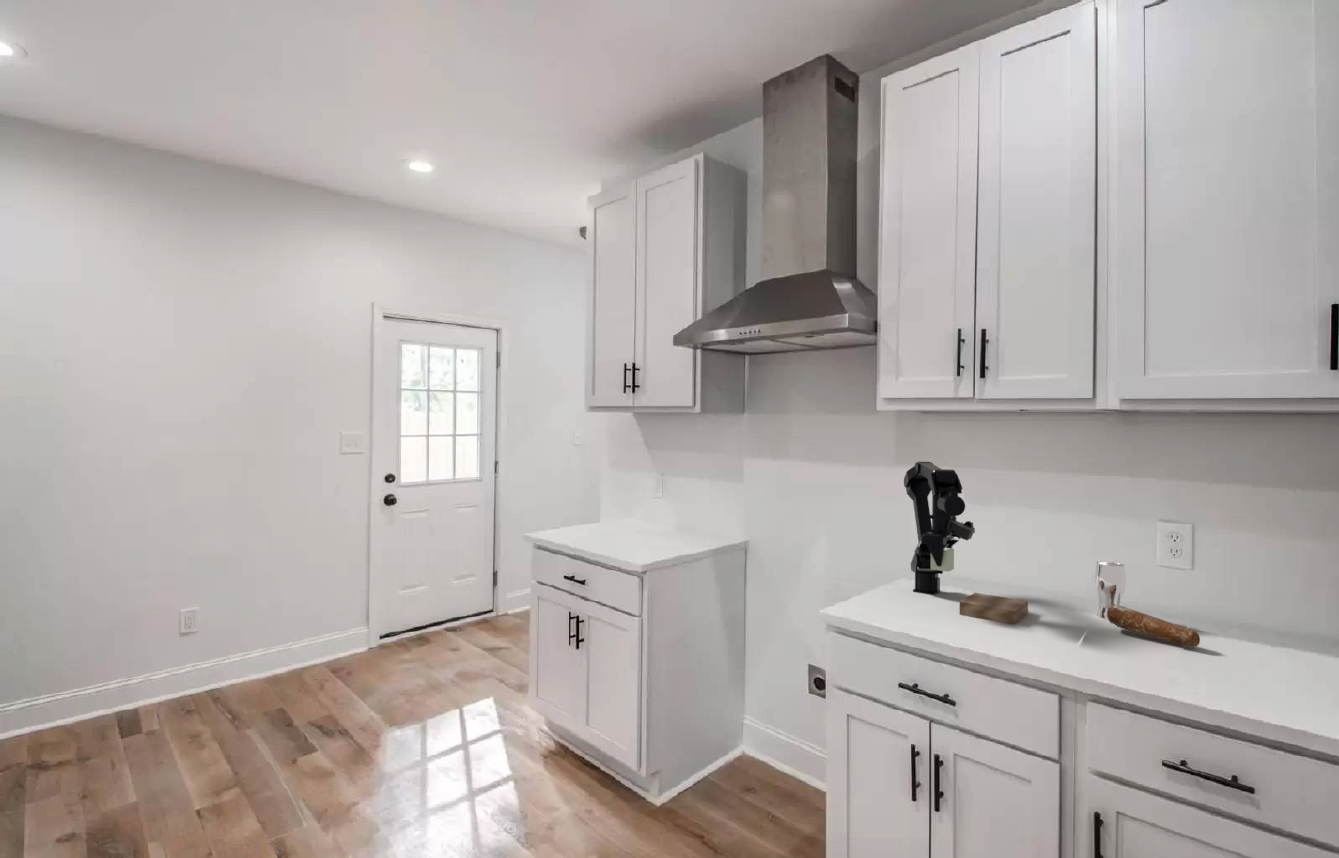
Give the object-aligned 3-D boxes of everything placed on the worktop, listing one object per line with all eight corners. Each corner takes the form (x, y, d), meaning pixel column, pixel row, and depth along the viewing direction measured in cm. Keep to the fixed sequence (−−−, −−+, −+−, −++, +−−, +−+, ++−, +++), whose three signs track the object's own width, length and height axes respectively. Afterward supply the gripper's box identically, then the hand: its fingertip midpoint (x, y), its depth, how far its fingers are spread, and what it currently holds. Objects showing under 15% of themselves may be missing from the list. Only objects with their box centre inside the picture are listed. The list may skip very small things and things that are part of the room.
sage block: (930, 569, 191) (930, 548, 191) (936, 566, 195) (936, 546, 195) (948, 571, 188) (948, 550, 188) (953, 569, 192) (954, 548, 192)
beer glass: (1099, 620, 175) (1099, 565, 176) (1091, 614, 182) (1091, 560, 182) (1129, 623, 173) (1129, 567, 174) (1119, 616, 180) (1120, 562, 180)
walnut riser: (959, 616, 180) (959, 601, 180) (974, 606, 191) (974, 592, 191) (1015, 626, 171) (1015, 611, 171) (1027, 615, 182) (1027, 601, 182)
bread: (1112, 625, 169) (1116, 604, 170) (1202, 649, 153) (1205, 626, 154) (1101, 623, 166) (1105, 601, 167) (1192, 647, 150) (1195, 623, 151)
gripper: (961, 517, 179) (960, 574, 179) (981, 511, 193) (980, 564, 193) (920, 513, 186) (920, 568, 186) (942, 508, 201) (942, 559, 200)
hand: (942, 564), depth 191 cm, fingers closed on sage block, 5 cm apart
